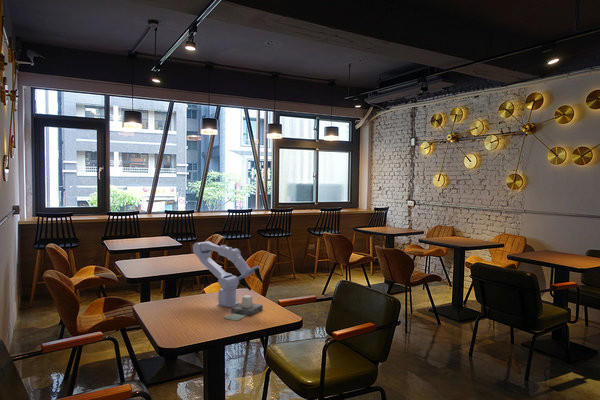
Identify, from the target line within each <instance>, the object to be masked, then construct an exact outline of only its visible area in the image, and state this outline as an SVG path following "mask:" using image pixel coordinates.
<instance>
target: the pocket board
mask: <svg viewBox="0 0 600 400" xmlns="http://www.w3.org/2000/svg"><path fill="white" fill-rule="evenodd" d="M263 307H264V306H263V304H260V303H253V302H252V307H250V308H243V307H242V302H240V303H239V304H237V305H235V306H233V307H230V308H231V313H230V314H233V313H234V314H240V315H245V316H250V317H252V316H254V315H256V314H257V313H259V312H261V311H262V310H263Z"/></svg>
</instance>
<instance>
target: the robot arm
mask: <svg viewBox="0 0 600 400" xmlns="http://www.w3.org/2000/svg"><path fill="white" fill-rule="evenodd" d="M212 252H216V253H217V254H218V255H219V256H222V257H224V258H226V259H227V260H228V261H231V262H230V263H233V265H234V266H235V268H236V269H237V270H238V271H239V273H240V274H241V275H239V276H237V275H233V274H232V273H229V272H226V271H225V270H224V269H223V268H222V267H221V266H220V265H219V264H218V263H217V262H216V261H215V260H213V259H212V258H211V255H212ZM192 253H194V255H195V256H196V257H197V258H198V259H199V262H200V263H201V264H202V265H203V266H204V267H205V268H206V269H208V270H209V272H210V273H212V274H213V275H214V276H215V277H216V278H217V279H218V280H217V284H218V285H219V286H220V288H219V291H218V295H217V296H218V299H217V306H222V307H228V308H229V307H230V308H233V307H235V306H237V305H239V304H240V302H239V301H238V302H237V288H238V286H239V285H240V286H242V287H244V288H246V289H247V290H249V291H252V288H251V287H250V285H249V284H248V283H247V282H248V281H246V278H247V277H249V276H250V275H252V274H254V275H255V276H256V277H257V279H258V280H259V282H260V283H261V284H262V283H264V280H263V278H262V276H261V273H260V272H261V271H260V269H261V267H260V265H256V266H253V267H252V268H251V267H250V266H249V265H248V263H247V262H246V260H245V259H244V258H243V256H242V252H241V250H240V249H239V248H237V247H235V248H233V247H232V246H227V244H221V245H218V244H216V243H213V242H212V241H209V240H206V241H200V242H195V243H194V244H192Z"/></svg>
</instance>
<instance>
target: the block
mask: <svg viewBox="0 0 600 400" xmlns="http://www.w3.org/2000/svg"><path fill="white" fill-rule="evenodd" d="M241 303H242V307H243V308H250V307H252V303H253V295H249V294H246V295H242V296H241Z"/></svg>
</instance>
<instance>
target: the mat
mask: <svg viewBox="0 0 600 400" xmlns="http://www.w3.org/2000/svg"><path fill="white" fill-rule="evenodd" d="M245 317H247V315H242V314H236V313H230V314H229V315H227V316H225V317H223V320H228V321H229V320H230V321H235V322H239V321H240V320H242V319H244V318H245Z"/></svg>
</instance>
